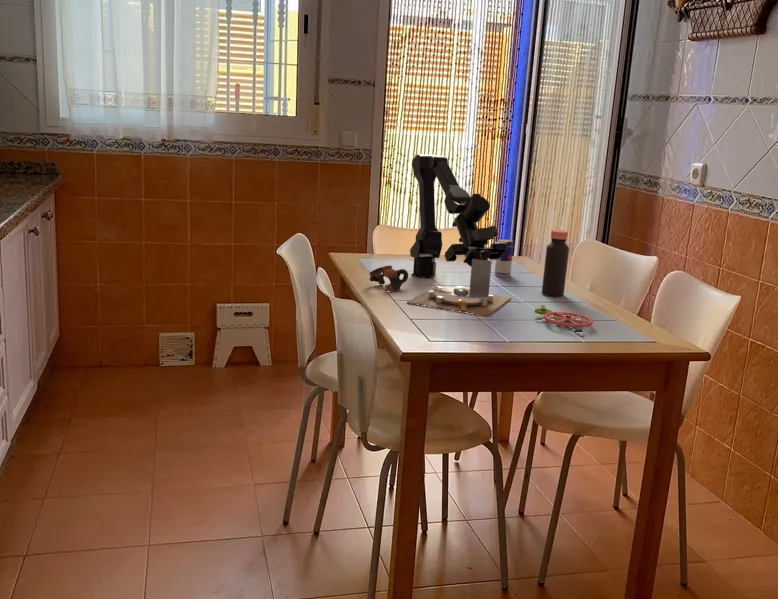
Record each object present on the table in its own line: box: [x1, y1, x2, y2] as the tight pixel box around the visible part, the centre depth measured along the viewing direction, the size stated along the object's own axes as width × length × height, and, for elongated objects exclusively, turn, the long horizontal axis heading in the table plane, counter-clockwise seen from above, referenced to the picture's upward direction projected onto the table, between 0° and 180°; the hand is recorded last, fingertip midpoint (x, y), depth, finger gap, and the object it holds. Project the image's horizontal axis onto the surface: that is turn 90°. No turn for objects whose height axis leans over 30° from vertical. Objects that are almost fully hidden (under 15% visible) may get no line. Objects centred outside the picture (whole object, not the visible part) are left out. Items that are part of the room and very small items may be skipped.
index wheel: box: [428, 258, 494, 307], centre depth 232 cm, size 18×18×12 cm
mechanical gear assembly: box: [534, 304, 594, 333], centre depth 218 cm, size 30×4×15 cm
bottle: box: [541, 229, 570, 298], centre depth 246 cm, size 7×7×20 cm
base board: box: [406, 285, 512, 317], centre depth 233 cm, size 24×24×3 cm
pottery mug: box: [369, 264, 409, 292], centre depth 244 cm, size 12×10×8 cm
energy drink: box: [494, 238, 514, 278], centre depth 271 cm, size 5×5×12 cm
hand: (485, 276), depth 231 cm, fingers closed
